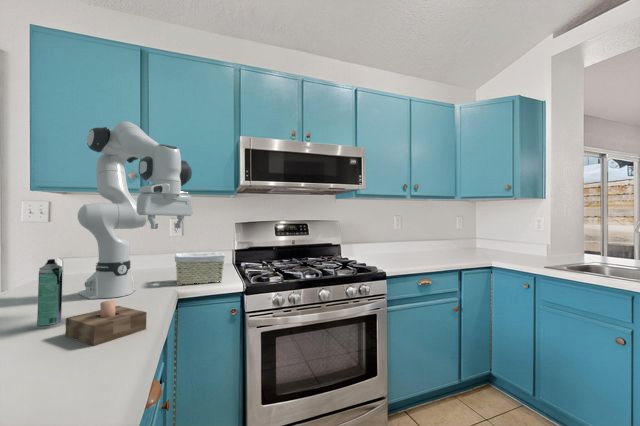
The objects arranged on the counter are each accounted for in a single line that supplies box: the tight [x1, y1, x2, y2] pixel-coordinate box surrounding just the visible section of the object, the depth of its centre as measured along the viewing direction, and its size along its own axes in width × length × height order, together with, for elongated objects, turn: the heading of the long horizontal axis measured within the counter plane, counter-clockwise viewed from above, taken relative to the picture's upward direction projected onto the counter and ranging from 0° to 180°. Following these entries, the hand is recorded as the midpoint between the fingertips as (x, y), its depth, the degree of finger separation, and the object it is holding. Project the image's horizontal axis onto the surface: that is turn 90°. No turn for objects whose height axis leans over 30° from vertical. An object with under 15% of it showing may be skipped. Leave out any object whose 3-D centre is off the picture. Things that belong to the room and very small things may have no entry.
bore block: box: [65, 305, 147, 347], centre depth 89 cm, size 14×14×5 cm
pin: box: [99, 300, 116, 318], centre depth 89 cm, size 4×4×7 cm
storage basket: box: [174, 251, 226, 286], centre depth 163 cm, size 24×16×15 cm
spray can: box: [36, 258, 64, 330], centre depth 95 cm, size 6×6×20 cm
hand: (166, 228), depth 112 cm, fingers open, 8 cm apart
